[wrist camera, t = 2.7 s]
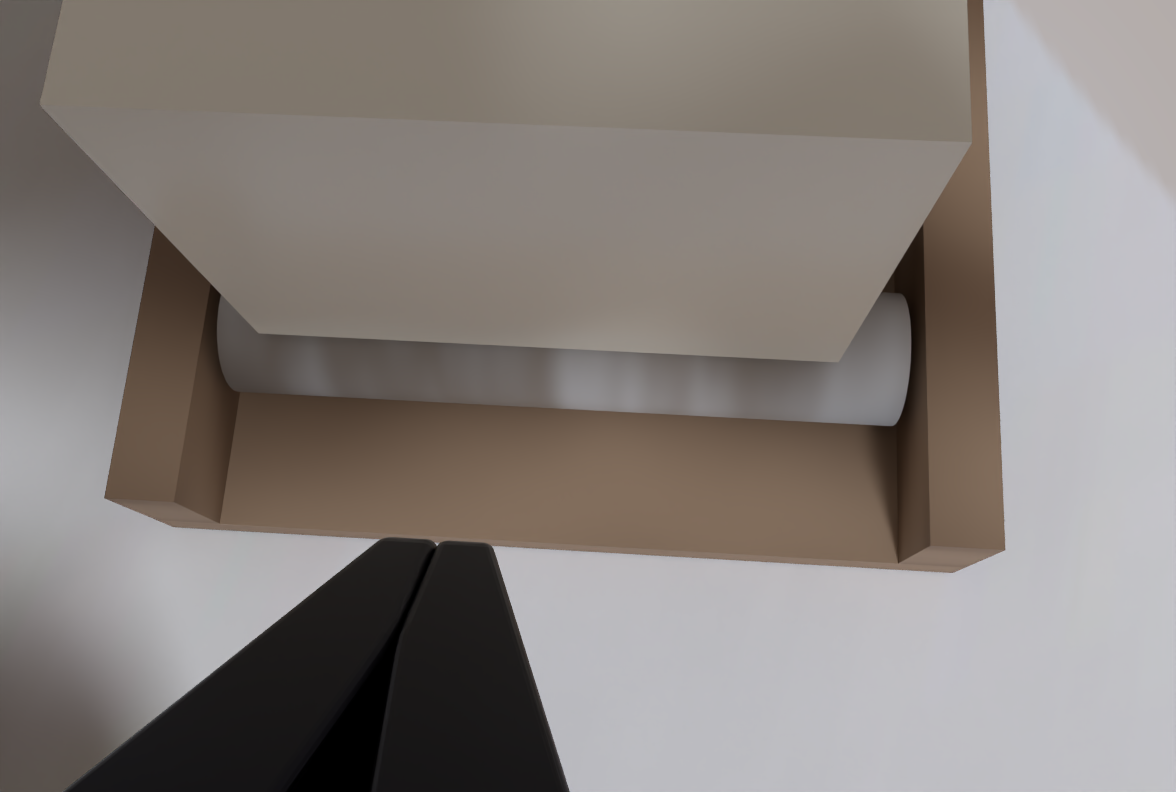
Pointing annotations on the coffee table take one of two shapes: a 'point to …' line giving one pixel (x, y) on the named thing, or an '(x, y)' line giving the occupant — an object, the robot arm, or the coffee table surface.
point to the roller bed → (593, 424)
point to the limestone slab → (529, 160)
